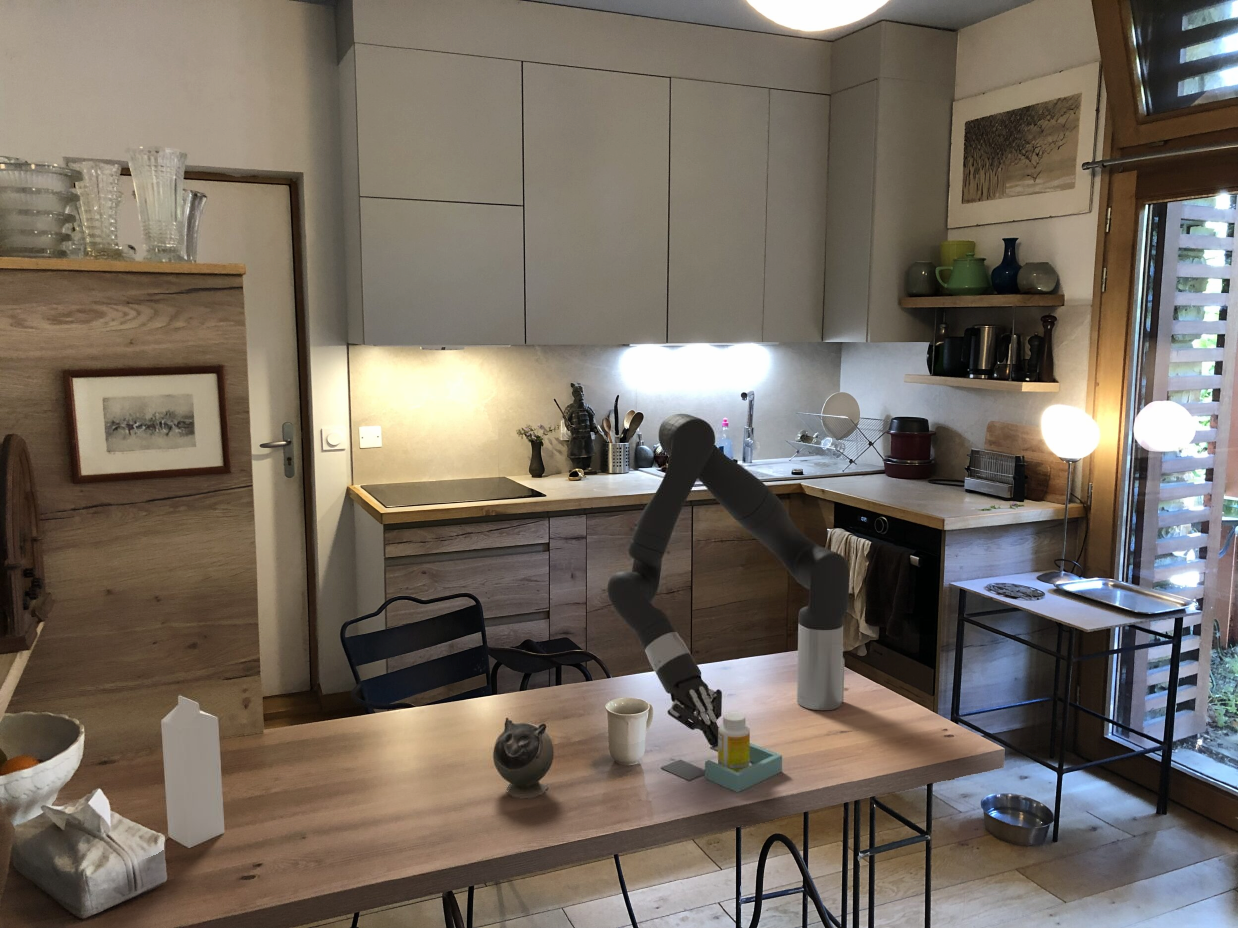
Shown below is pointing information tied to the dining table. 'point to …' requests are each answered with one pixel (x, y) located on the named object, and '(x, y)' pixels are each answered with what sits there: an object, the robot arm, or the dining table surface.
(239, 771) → the dining table surface
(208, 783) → the milk
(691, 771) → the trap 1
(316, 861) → the dining table surface
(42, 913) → the dining table surface
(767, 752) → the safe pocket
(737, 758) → the supplement bottle
